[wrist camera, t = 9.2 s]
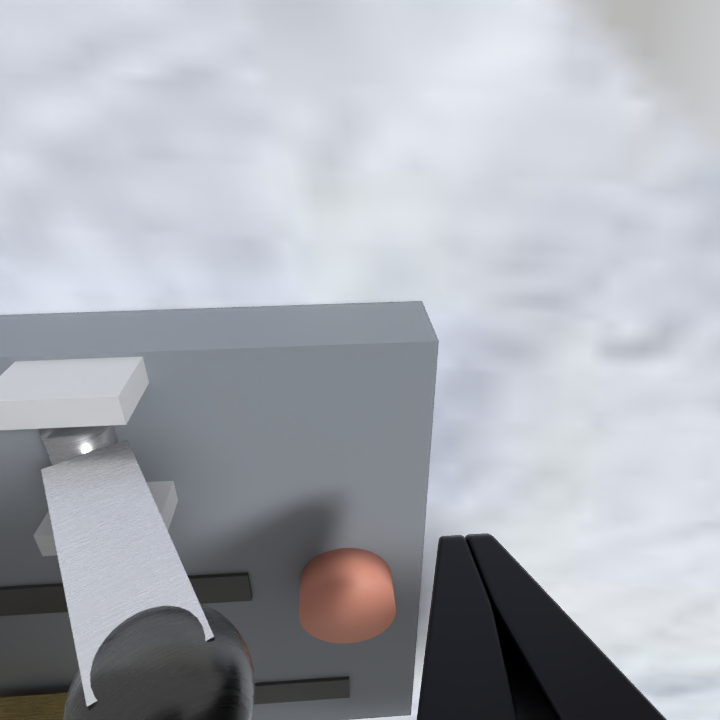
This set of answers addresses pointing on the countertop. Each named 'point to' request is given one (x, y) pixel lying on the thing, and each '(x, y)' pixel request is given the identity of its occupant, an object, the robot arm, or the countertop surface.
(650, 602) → the countertop surface
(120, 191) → the countertop surface
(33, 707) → the brushed brass brick
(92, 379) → the panel
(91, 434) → the toggle lever
